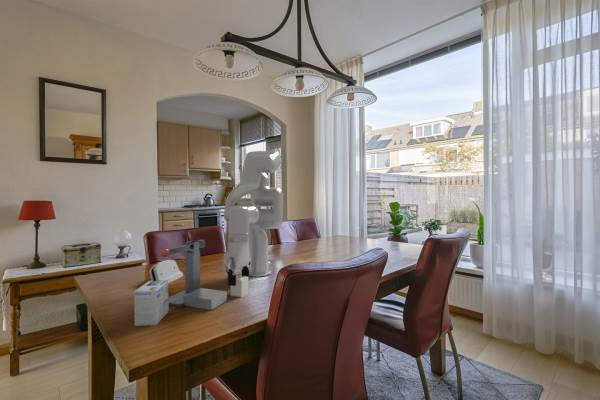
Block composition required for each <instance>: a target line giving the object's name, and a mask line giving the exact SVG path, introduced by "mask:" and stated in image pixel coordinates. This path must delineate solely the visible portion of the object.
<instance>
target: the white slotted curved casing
mask: <svg viewBox="0 0 600 400" xmlns="http://www.w3.org/2000/svg"><path fill="white" fill-rule="evenodd" d="M148 273H149V277H150V281H162V280H168V284H170V283H173V282H174V281H176V280H179V279H180V278H182V277H184V273H183V271H181V270H180V269H179V266H178V264H177V262H176V260H174V259H165V260H162V261H159V262H157V263H155V264H154V265H153V266H151V268H150V269H149V270H148Z"/></svg>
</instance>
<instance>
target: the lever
mask: <svg viewBox="0 0 600 400" xmlns="http://www.w3.org/2000/svg"><path fill="white" fill-rule="evenodd" d="M195 242H199V249H203V248H206V240H205V239H198V240H195ZM193 243H194V242H192V243H191V244H186V243H185V244H183V245H179V246H175V247H171V248H166V247H165V248H162V249H160V251H159V256H160V257H162V258H167V257H169V256H171V255H174V254H175V255H176V254H178V253H182V252H183V253H184V252H186V250H190V249H192V250H193Z"/></svg>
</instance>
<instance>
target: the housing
mask: <svg viewBox="0 0 600 400" xmlns="http://www.w3.org/2000/svg"><path fill="white" fill-rule="evenodd" d="M229 286H230V285H229ZM248 294H249V279H248V277H246V276H242V273H238V275H236V285H235V286H230V296H232V297H238V298H242V297H244V296H246V295H248Z"/></svg>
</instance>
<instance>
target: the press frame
mask: <svg viewBox="0 0 600 400" xmlns="http://www.w3.org/2000/svg"><path fill="white" fill-rule="evenodd" d="M191 243H193V249H190V250H186V251H185V252H184V261H185V262H184V271H185V272H184V273H185V274H184V279H185V280H184V281H185V289H184V290H182V291H180V292H177V293H175V294H172V295H171V296H168V306H171V307H176V308H177V307H178V308H181V307H183V306H184V307H185V306H186V307H190V308H191V307H192V308H195V309H202V310H203V309H204V310H209V311H210V310H211V311H213V310H215V309H216V308H217V307H220V306H221V305H223V304H225V303H226V302H228V301H227V300H228V293H227V292H228V291H226V290H217V289H210V288H204V287H201V251H200V248H199V242H196V241H195V242H193V240H191V241H187V242H186V241H185V245H186V244H191Z"/></svg>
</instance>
